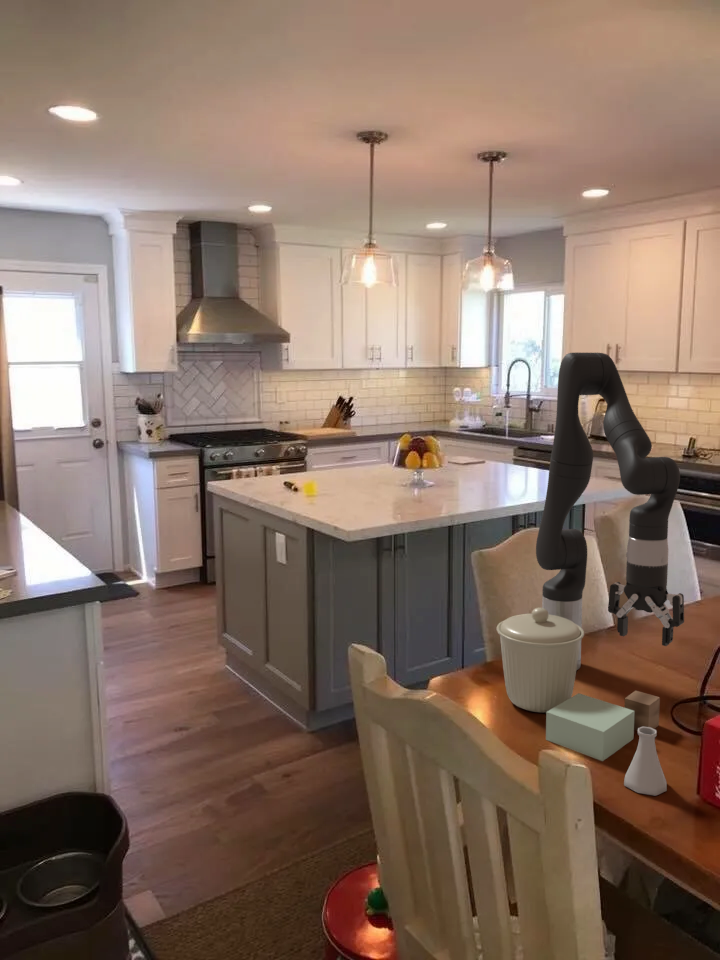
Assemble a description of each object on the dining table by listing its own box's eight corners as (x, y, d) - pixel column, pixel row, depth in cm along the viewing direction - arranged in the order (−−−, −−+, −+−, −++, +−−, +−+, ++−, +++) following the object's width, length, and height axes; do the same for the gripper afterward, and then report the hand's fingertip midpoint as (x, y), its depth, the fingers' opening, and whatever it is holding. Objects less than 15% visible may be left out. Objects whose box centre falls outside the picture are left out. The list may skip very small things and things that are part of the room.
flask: (632, 770, 140) (633, 717, 138) (673, 783, 135) (675, 728, 134) (616, 787, 134) (618, 732, 133) (659, 801, 130) (661, 744, 128)
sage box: (545, 741, 151) (546, 712, 151) (577, 720, 160) (578, 693, 159) (602, 762, 143) (603, 731, 142) (633, 740, 151) (634, 710, 150)
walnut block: (623, 726, 156) (624, 698, 156) (634, 718, 160) (635, 690, 159) (648, 734, 153) (649, 705, 152) (658, 725, 157) (659, 697, 156)
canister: (598, 702, 167) (601, 607, 164) (550, 730, 155) (552, 628, 152) (528, 679, 181) (529, 590, 178) (478, 702, 168) (479, 608, 165)
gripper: (691, 561, 149) (688, 643, 151) (620, 550, 159) (618, 627, 161) (676, 569, 144) (672, 653, 146) (603, 557, 153) (601, 636, 156)
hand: (644, 639), depth 153 cm, fingers open, 8 cm apart
